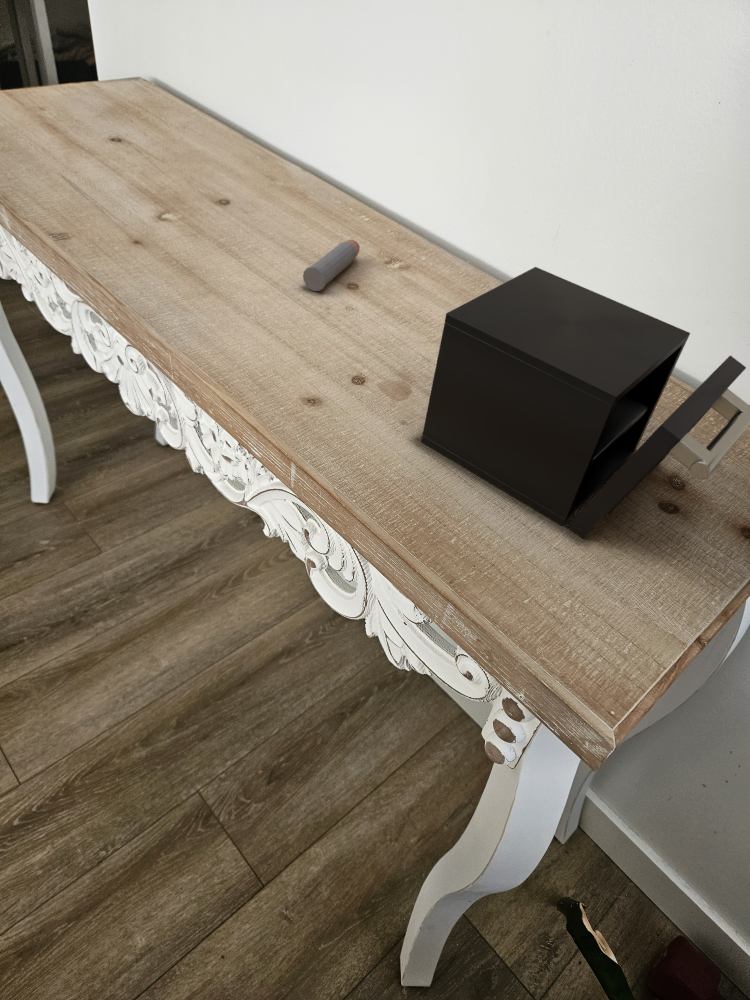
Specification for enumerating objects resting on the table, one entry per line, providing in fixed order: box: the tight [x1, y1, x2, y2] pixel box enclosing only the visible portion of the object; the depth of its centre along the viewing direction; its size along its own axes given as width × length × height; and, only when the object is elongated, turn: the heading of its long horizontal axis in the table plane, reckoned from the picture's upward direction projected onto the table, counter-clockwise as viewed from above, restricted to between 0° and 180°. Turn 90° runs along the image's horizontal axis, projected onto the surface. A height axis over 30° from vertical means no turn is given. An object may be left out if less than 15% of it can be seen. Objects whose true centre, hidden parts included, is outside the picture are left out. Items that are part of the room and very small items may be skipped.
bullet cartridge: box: [302, 239, 360, 292], centre depth 86 cm, size 11×3×3 cm, turn 157°
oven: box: [420, 266, 691, 527], centre depth 61 cm, size 15×14×13 cm
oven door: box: [567, 355, 750, 539], centre depth 57 cm, size 5×14×13 cm, turn 139°
